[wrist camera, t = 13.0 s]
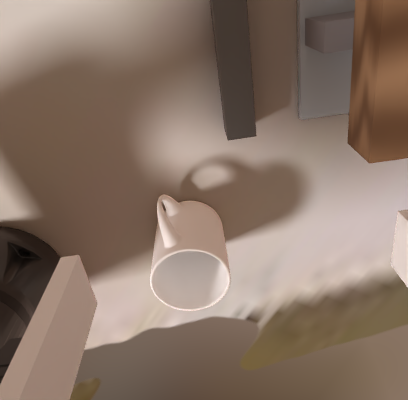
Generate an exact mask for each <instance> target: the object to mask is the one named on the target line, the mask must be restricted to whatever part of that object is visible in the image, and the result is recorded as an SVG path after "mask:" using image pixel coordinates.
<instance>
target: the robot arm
mask: <svg viewBox="0 0 408 400" xmlns="http://www.w3.org/2000/svg"><path fill="white" fill-rule="evenodd" d="M391 266H392V267H393V268H394V270H395V271H396V272H397V274H398V275H399V276H400V278H401V279H402V280H403V282H404V283H405V284H406V286H407V287H408V210H402V211H398V214H397V222H396V229H395V236H394V243H393V250H392V258H391ZM96 306H97V301H96V298H95V295H94V293H93V290H92V288H91V285H90V282H89V280H88V277H87V274H86V272H85V269H84V266H83V264H82V261H81V258H80V256H79V255H73V256H66V257H61V258H60V257H59V256H58V255H57V253H56V252H55V251H54V250H53V249H52V248H51V247H50V246H49V245H47V244H46V243H45V242H43V241H42V240H40V239H39V238H37V237H35V236H33V235H31V234H29V233H26V232H23V231H20V230H16V229H12V228H5V227H0V400H70V396H71V393H72V389H73V386H74V382H75V379H76V376H77V372H78V368H79V365H80V361H81V358H82V355H83V351H84V348H85V344H86V341H87V338H88V334H89V331H90V327H91V324H92V320H93V317H94V313H95V310H96Z"/></svg>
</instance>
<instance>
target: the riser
mask: <svg viewBox="0 0 408 400" xmlns="http://www.w3.org/2000/svg"><path fill="white" fill-rule="evenodd" d="M210 5H211V14H212V23H213V32H214V40H215V49H216V58H217V67H218V75H219V84H220V93H221V102H222V110H223V119H224V128H225V132H226V135H227V139H228V140H234V139H241V138H248V137H255V136H256V125H255V111H254V97H253V83H252V69H251V55H250V41H249V27H248V13H247V0H210Z"/></svg>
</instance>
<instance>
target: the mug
mask: <svg viewBox="0 0 408 400" xmlns="http://www.w3.org/2000/svg"><path fill="white" fill-rule="evenodd" d="M162 201H163V203H164V205H165V208H166V210H165V211H164V209H163V207H162ZM157 215H158V224H157V228H156V236H155V244H154V251H153V259H152V267H151V275H150V285H151V288H152V291H153V292H154V294H155V296H156V297H157V298H158V299H159V300H160V301H161V302H163V303H164V304H166V305H168V306H170V307H172V308H175V309H179V310H186V311H194V310H200V309H204V308H207V307H210V306H212V305H214V304H216V303H217V302H218V301H220V300H221V299H222V298H223V297H224V295H225V294H226V293H227V291H228V289H229V286H230V281H231V277H230V269H229V263H228V257H227V250H226V244H225V237H224V231H223V226H222V222H221V219H220V217H219V216H218V214H217V213H216V211H215V210H214V209H212V208H211V207H210V206H208V205H206V204H204V203H201V202H198V201H182V202H177V201H176V200H174V199H173V198H172V197H170V196H168V195H161V196H160V197H159V199H158V203H157Z"/></svg>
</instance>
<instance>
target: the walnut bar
mask: <svg viewBox="0 0 408 400" xmlns="http://www.w3.org/2000/svg"><path fill="white" fill-rule="evenodd" d="M348 144H349V145H350V146H351V147H352V148H353V149H355V150H356V151H357V152H358V153H359V154H360V155H361V156H362V157H363V158H364V159H365V160H366V161H367V162H369V163H376V162H383V161H390V160H397V159H404V158H408V0H355V14H354V33H353V52H352V71H351V89H350V108H349V127H348Z"/></svg>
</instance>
